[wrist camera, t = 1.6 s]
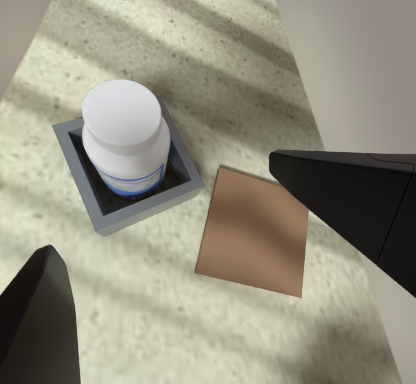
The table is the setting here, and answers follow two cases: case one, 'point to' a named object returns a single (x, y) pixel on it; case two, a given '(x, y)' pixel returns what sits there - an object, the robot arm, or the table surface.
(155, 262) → the table surface
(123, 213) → the holder box
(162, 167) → the pill bottle
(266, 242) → the walnut coaster
